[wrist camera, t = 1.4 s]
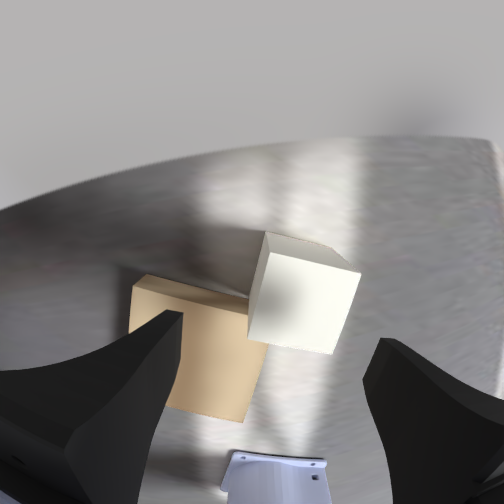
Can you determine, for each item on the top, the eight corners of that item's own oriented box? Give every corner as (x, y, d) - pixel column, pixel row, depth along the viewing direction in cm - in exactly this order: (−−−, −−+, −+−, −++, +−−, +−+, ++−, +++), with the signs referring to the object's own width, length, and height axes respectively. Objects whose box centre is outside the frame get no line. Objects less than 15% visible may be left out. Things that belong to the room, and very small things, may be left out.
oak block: (273, 302, 21) (275, 321, 18) (244, 398, 23) (242, 423, 20) (148, 272, 20) (132, 285, 18) (138, 372, 22) (126, 393, 19)
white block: (331, 247, 20) (361, 273, 14) (312, 309, 21) (331, 354, 15) (265, 231, 19) (270, 252, 14) (249, 295, 20) (247, 339, 14)
